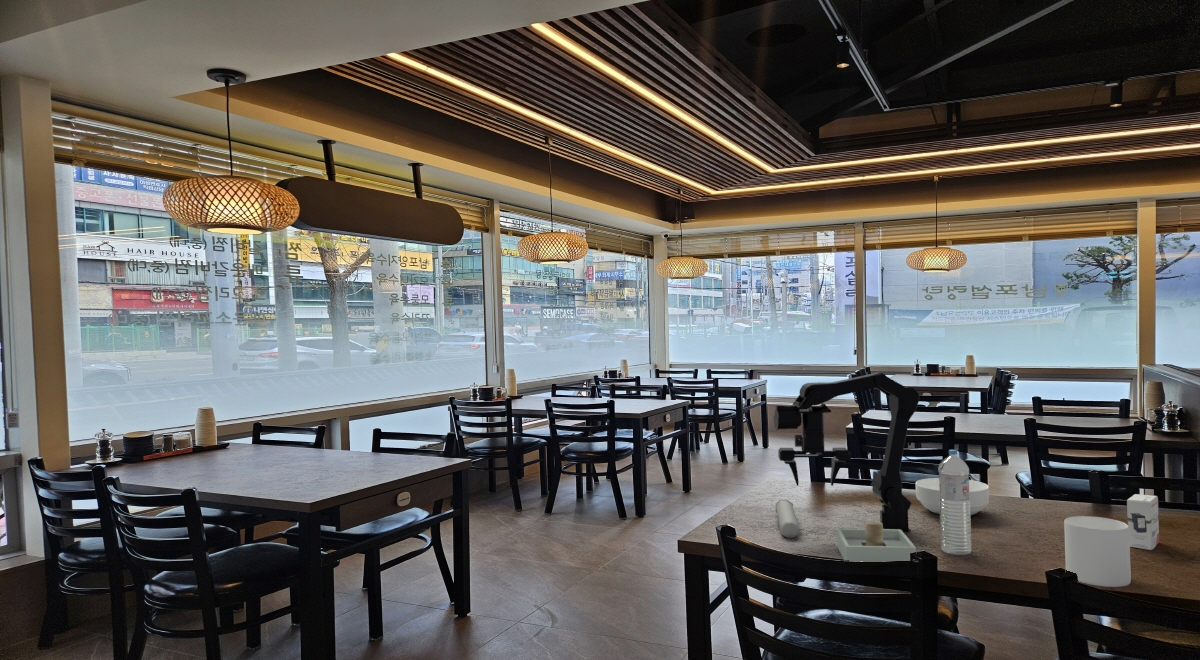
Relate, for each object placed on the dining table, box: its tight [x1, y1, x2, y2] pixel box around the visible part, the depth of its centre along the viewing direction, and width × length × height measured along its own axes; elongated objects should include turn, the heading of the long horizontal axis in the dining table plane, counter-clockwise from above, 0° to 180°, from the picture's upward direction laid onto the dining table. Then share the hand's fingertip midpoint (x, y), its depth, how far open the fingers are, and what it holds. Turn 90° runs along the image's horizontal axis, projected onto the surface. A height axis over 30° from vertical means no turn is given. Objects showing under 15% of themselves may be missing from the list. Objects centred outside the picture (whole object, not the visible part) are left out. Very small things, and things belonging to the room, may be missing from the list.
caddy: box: [836, 528, 917, 562], centre depth 179 cm, size 16×16×4 cm
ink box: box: [1126, 493, 1160, 551], centre depth 182 cm, size 8×5×12 cm, turn 133°
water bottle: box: [937, 449, 972, 556], centre depth 181 cm, size 7×7×25 cm
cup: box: [1063, 515, 1132, 588], centre depth 160 cm, size 12×12×12 cm
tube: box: [775, 498, 800, 539], centre depth 208 cm, size 5×5×25 cm
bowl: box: [915, 477, 990, 516], centre depth 217 cm, size 20×20×8 cm
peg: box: [864, 520, 883, 546], centre depth 179 cm, size 4×4×8 cm
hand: (814, 485), depth 203 cm, fingers open, 9 cm apart
